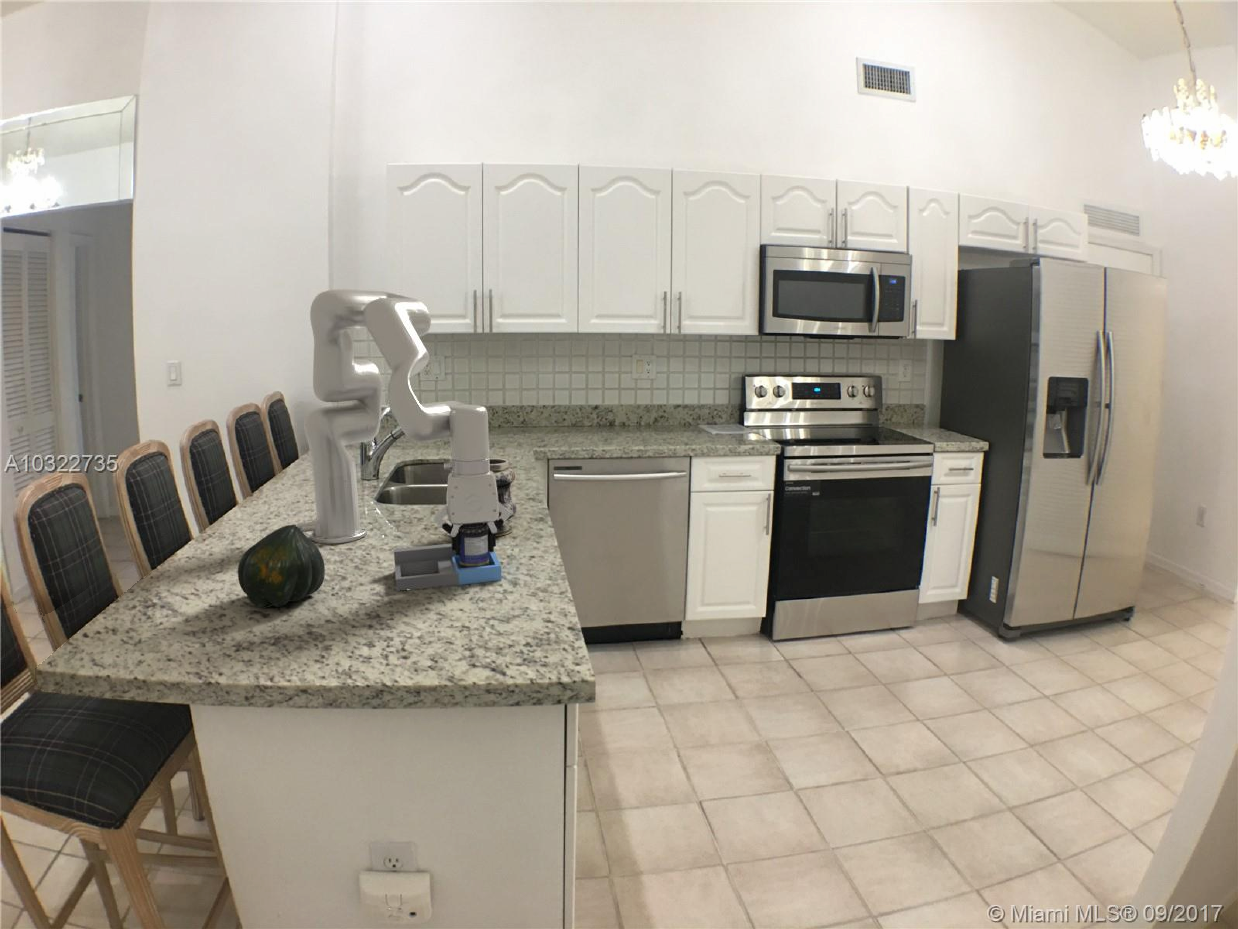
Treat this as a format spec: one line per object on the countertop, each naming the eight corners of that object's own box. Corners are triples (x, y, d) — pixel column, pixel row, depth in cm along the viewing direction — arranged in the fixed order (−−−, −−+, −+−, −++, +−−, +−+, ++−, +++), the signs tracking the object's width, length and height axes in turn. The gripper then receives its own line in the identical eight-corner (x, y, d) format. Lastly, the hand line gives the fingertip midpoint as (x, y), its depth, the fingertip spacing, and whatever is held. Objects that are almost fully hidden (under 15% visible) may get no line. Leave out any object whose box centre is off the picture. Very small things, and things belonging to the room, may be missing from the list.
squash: (206, 586, 126) (258, 525, 124) (249, 561, 141) (296, 506, 139) (270, 636, 127) (322, 577, 126) (306, 606, 142) (353, 552, 140)
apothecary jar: (521, 525, 182) (520, 456, 178) (510, 539, 170) (508, 466, 167) (476, 523, 183) (473, 455, 179) (461, 537, 171) (458, 465, 168)
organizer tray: (396, 591, 138) (395, 567, 137) (395, 571, 149) (393, 549, 148) (501, 580, 144) (500, 556, 143) (493, 561, 155) (492, 539, 154)
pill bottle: (461, 561, 150) (459, 510, 147) (491, 560, 150) (489, 510, 148) (457, 571, 144) (455, 518, 141) (488, 570, 144) (486, 517, 142)
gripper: (427, 473, 136) (432, 562, 140) (516, 467, 142) (518, 553, 146) (425, 465, 143) (429, 550, 147) (510, 460, 149) (512, 542, 152)
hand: (474, 551), depth 146 cm, fingers closed on pill bottle, 6 cm apart
